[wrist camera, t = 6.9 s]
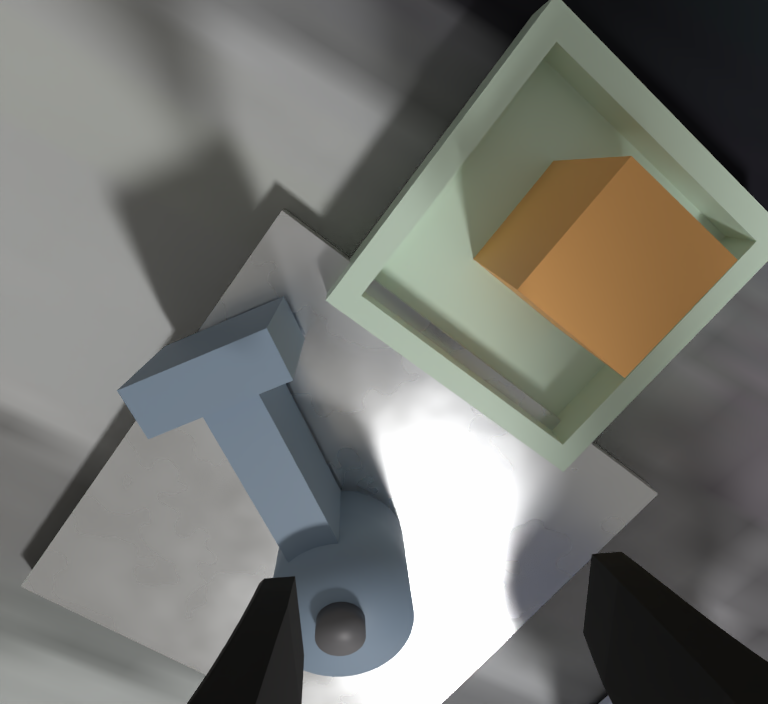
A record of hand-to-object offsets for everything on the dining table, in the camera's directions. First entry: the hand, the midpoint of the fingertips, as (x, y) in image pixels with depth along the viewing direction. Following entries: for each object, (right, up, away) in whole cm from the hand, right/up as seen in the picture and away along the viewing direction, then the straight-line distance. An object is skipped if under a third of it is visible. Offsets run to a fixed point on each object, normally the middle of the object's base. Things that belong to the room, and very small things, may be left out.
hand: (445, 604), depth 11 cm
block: (+5, +9, +7) cm, 12 cm away
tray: (+4, +8, +8) cm, 12 cm away
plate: (-3, -2, +11) cm, 12 cm away
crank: (-4, +1, +9) cm, 10 cm away
